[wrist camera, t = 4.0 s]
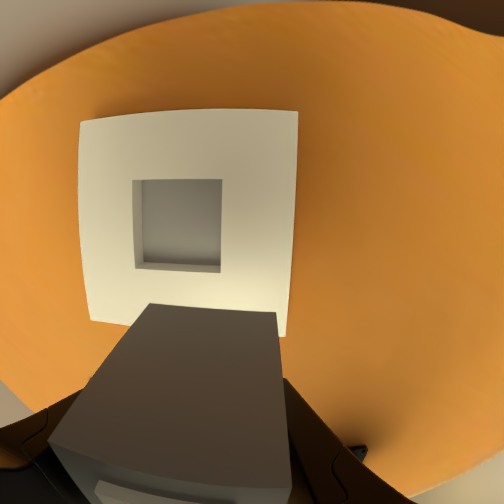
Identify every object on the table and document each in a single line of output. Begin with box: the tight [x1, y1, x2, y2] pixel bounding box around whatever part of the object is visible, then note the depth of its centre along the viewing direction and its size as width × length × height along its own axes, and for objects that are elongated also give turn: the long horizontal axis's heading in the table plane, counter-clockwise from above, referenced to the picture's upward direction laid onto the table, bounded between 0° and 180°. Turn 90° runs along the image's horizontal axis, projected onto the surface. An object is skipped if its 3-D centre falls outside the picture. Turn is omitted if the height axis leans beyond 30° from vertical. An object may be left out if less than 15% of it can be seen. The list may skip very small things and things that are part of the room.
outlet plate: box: [78, 109, 298, 337], centre depth 18 cm, size 14×14×2 cm
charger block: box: [47, 303, 292, 504], centre depth 7 cm, size 4×4×6 cm
